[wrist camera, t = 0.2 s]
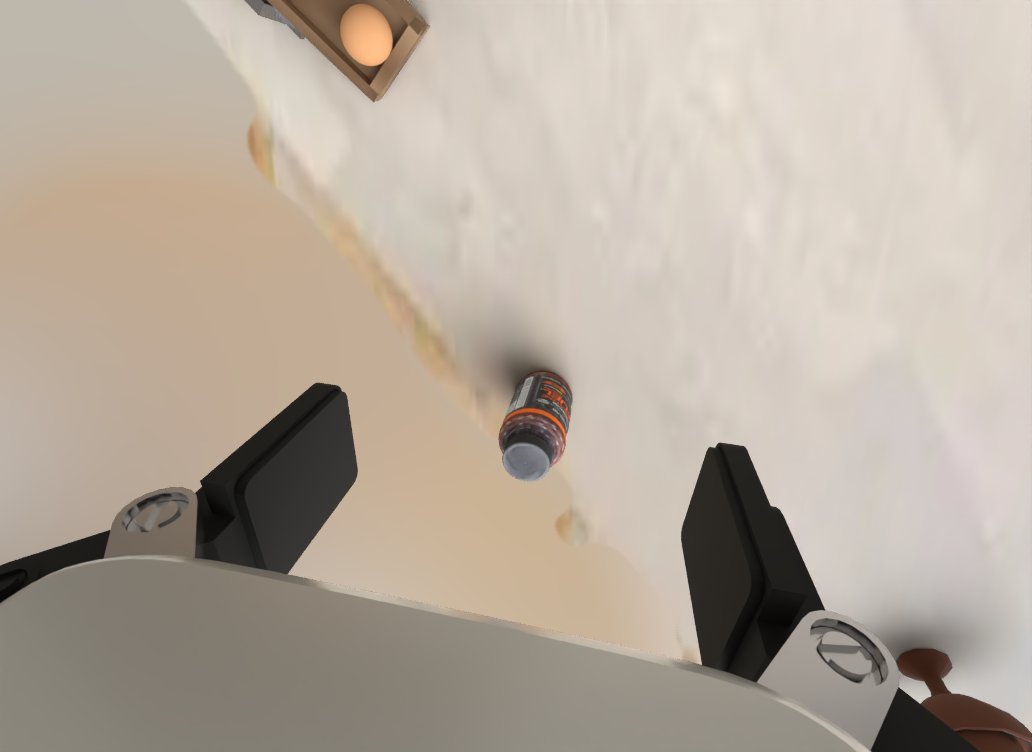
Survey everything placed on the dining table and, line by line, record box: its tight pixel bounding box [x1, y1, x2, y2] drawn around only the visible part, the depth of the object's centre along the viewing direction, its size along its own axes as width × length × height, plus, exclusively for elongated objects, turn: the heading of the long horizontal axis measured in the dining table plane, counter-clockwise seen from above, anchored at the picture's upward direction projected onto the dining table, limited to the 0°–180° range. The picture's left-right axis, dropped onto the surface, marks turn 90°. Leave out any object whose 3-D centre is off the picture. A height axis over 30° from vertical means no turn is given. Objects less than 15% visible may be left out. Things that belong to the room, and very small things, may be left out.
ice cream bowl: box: [896, 649, 1032, 752], centre depth 48 cm, size 11×11×15 cm
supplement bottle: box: [499, 372, 572, 481], centre depth 42 cm, size 6×6×11 cm
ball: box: [340, 4, 393, 66], centre depth 32 cm, size 4×4×4 cm
